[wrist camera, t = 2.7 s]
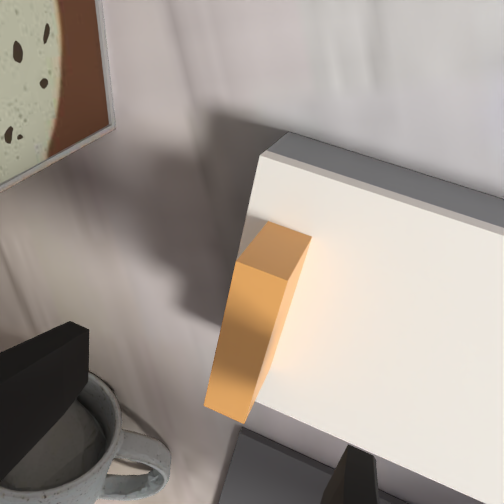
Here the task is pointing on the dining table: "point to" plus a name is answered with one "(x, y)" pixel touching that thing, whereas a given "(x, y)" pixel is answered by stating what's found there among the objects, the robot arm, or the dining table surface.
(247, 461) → the mat
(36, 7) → the food container
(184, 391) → the dining table surface
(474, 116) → the dining table surface
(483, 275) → the lid
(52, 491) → the ceramic mug
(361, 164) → the dark grey tray
